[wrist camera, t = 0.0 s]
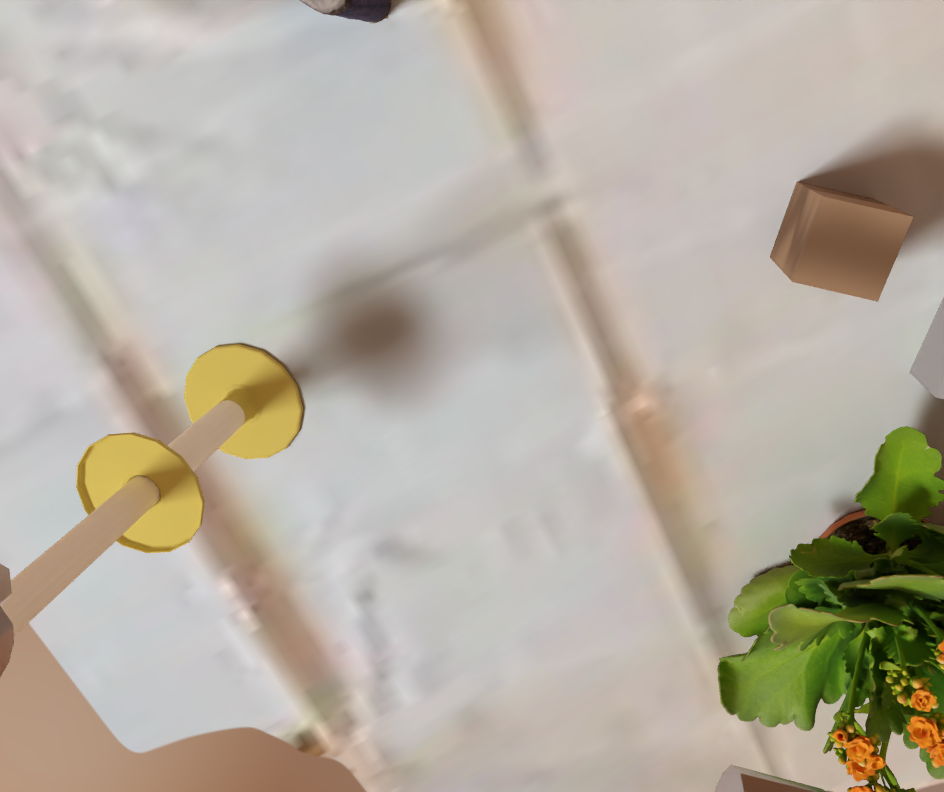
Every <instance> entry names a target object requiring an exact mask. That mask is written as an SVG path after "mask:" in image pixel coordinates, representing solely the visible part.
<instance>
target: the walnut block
mask: <svg viewBox="0 0 944 792" xmlns="http://www.w3.org/2000/svg"><path fill="white" fill-rule="evenodd" d="M912 219H913V216H911V215H908V214H906V213H904V212H902V211H899V210H897V209H895V208H893V207H891V206H888V205H886V204H884V203H882V202H879V201H877V200H875V199H871V198H867V197H862V196H858V195H853V194H849V193H844V192H840V191H835V190H831V189H826V188H822V187H817V186H813V185H808V184H804V183H799V182H796V185H795V188H794V191H793V194H792V196H791V199H790V202H789V205H788V208H787V210H786V213H785V216H784V219H783V222H782V224H781V227H780V230H779V233H778V236H777V238H776V241H775V244H774V247H773V250H772V252H771V255H770V258H771V259H772V260H773V261H774V262H775V263H776V264H777V265H778V267H779V268H780V269H781V270H782V271H783V272H784V273H785V274H786V275H787V276H788V278H789V279H790V280H791V281H792V282H796V283H800V284H804V285H809V286H813V287H817V288H822V289H826V290H830V291H835V292H839V293H843V294H848V295H852V296H856V297H860V298H865V299H869V300H873V301H878V300H879V297H880V295H881V292H882V290H883V288H884V285H885V283H886V281H887V278H888V276H889V274H890V271H891V269H892V267H893V264H894V262H895V260H896V257H897V255H898V252H899V250H900V248H901V245H902V243H903V241H904V238H905V236H906V234H907V231H908V229H909V227H910V224H911V222H912Z"/></svg>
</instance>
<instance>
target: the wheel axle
mask: <svg viewBox="0 0 944 792" xmlns="http://www.w3.org/2000/svg"><path fill="white" fill-rule="evenodd" d="M184 399H185V402H186V406H187V409H188V412H189V416H190V419H191V421H192V422H193V423H194V424H193V425H192V426H190V427H189V428H188V429H187V430H185V431H184V432H183V433H182V434H181V435H179V436H178V437H177V438H176V439H175V440H173V441H172V442H171V443H170V444H169V445H166V444H164V443H163V442H161V441H160V440H157V439H154V438H151V437H147V436H144V435H141V434H137V433H122V434H109V435H107V436H105V437H104V438H102V439H100V440H99V441H97V442H95V443H94V444H92V445H90V446H89V447H88V448H87V449H86V451H85V453H84V455H83V456H82V458H81V460H80V462H79V463H78V465H77V487H76V488H77V490H78V493H79V496H80V499H81V501H82V504H83V507H84V509H85V511H86V513H87V514H88V516H87V517H86V518H85V519H84V520H82V521H81V522H80V523H79V524H78V525H76V526H75V527H74V528H73V529H72V530H70V531H69V532H68V533H67V534H66V535H65V536H63V537H62V538H61V539H60V540H59V541H57V542H56V543H55V544H54V545H53V546H51V547H50V548H49V549H48V550H47V551H45V552H44V553H43V554H42V555H41V556H39V557H38V558H37V559H36V560H35V561H34V562H32V563H31V564H30V565H29V566H28V567H26V568H25V569H24V570H23V571H22V572H20V573H19V574H18V575H17V576H16V577H14V578H13V579H12V580H11V590H12V594H11V595H10V596H9V597H8V598H7V599H6V600H5V601H4V602H3V603H2V604H1V605H0V606H1V607H2V609H3V610H4V612H5V613H6V615H7V616H8V618H9V619H10V621H11V622H12V623H13V629H14V636H15V635H16V634H17V633H18V632H19V631H20V630H21V629H22V628H23V627H24V626H25V625H27V624H28V623H29V622H30V621H31V620H32V619H33V618H34V617H35V616H36V615H37V614H38V613H39V612H40V611H41V610H43V609H44V608H45V607H46V606H47V605H48V604H49V603H50V602H51V601H52V600H53V599H54V598H55V597H56V596H57V595H59V594H60V593H61V592H62V591H63V590H64V589H65V588H66V587H67V586H68V585H69V584H70V583H71V582H72V581H74V580H75V579H76V578H77V577H78V576H79V575H80V574H81V573H82V572H83V571H84V570H85V569H86V568H87V567H88V566H90V565H91V564H92V563H93V562H94V561H95V560H96V559H97V558H98V557H99V556H100V555H101V554H102V553H103V552H104V551H106V550H107V549H108V548H109V547H110V546H111V545H112V544H113V543H114V542H115V541H117V542H118V543H120V544H121V545H123V546H126V547H129V548H132V549H135V550H139V551H142V552H145V553H159V552H171V551H173V550H175V549H177V548H179V547H181V546H183V545H185V544H187V543H189V541H190V540H191V539H192V537H193V536H194V535H195V533H196V532H197V530H198V529H199V527H200V526H201V524H202V520H203V511H204V503H205V500H204V496H203V493H202V490H201V487H200V483H199V480H198V477H197V476H196V474H195V473H194V471H195V470H196V469H197V468H198V467H199V466H200V465H201V464H202V463H203V462H204V461H205V460H207V459H208V458H209V457H210V456H211V455H212V454H213V453H214V452H215V451H216V450H217V449H220V450H221V451H223V452H224V453H227V454H231V455H234V456H237V457H241V458H244V459H255V458H269V457H270V456H272V455H274V454H276V453H278V452H280V451H282V450H284V449H286V448H287V447H288V446H289V444H290V443H291V442H292V440H293V439H294V437H295V436H296V435H297V433H298V432H299V430H300V425H301V419H302V413H303V406H302V402H301V398H300V394H299V390H298V386H297V385H296V383H295V382H294V380H293V379H292V377H291V376H290V374H289V373H288V371H287V370H286V369H285V367H284V366H283V365H282V364H281V363H279V362H278V361H276V360H275V359H274V358H272V357H271V356H270V355H268V354H267V353H266V352H264V351H263V350H259V349H256V348H252V347H249V346H245V345H242V344H232V345H223V346H216V347H214V348H213V349H211V350H210V351H208V352H206V353H205V354H203V355H201V356H200V357H198V358H197V359H196V361H195V363H194V364H193V366H192V368H191V369H190V371H189V372H188V374H187V376H186V385H185V395H184Z"/></svg>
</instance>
